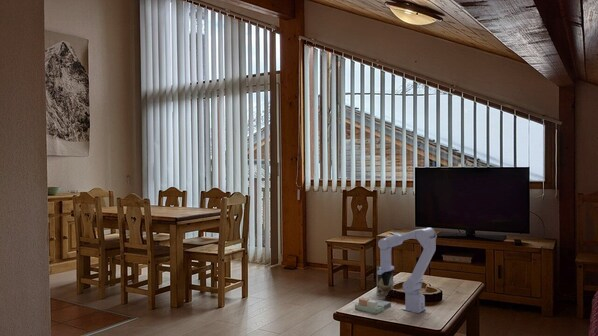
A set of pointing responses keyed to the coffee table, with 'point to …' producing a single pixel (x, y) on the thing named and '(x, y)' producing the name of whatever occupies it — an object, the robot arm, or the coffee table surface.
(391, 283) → the coffee box
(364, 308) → the green tray
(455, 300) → the coffee table surface
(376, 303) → the cream tile
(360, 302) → the terracotta tile
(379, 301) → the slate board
